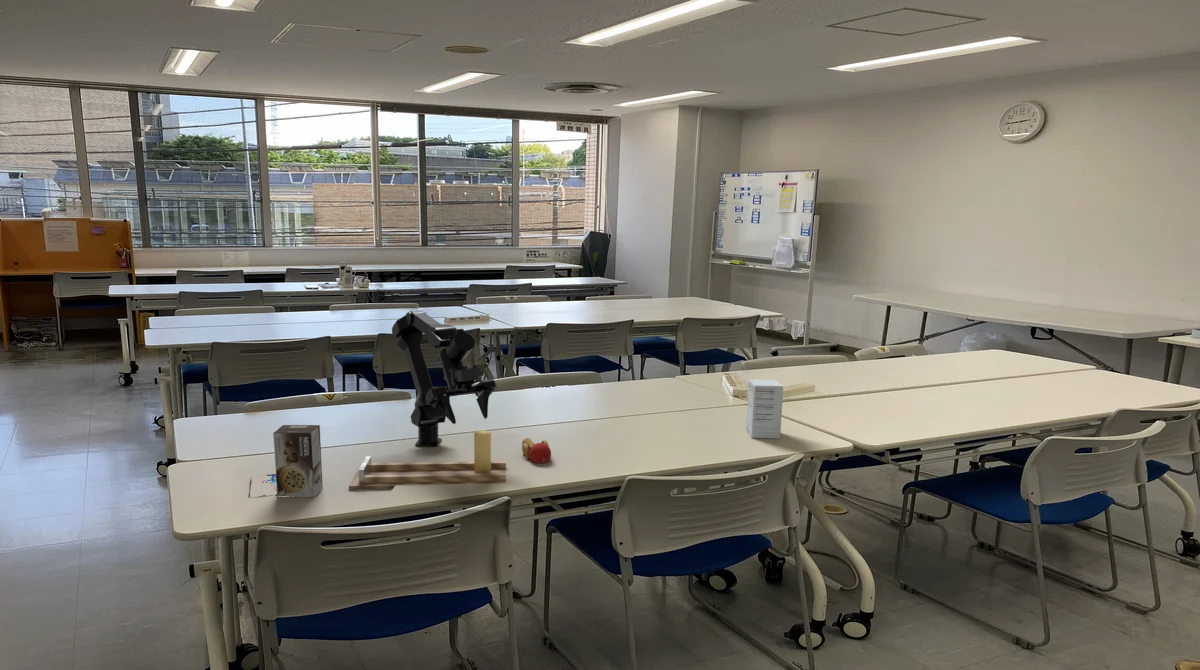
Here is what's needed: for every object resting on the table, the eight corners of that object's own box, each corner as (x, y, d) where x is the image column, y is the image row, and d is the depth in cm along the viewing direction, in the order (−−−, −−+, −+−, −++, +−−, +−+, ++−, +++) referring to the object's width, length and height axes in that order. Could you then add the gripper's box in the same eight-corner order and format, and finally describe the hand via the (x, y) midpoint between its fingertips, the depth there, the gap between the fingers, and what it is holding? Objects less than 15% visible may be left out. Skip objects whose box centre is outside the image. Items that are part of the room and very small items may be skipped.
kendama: (511, 453, 218) (527, 465, 201) (514, 432, 218) (530, 442, 201) (537, 456, 221) (554, 468, 204) (540, 434, 221) (558, 444, 204)
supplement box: (780, 439, 234) (784, 386, 231) (751, 438, 234) (754, 385, 231) (773, 430, 243) (776, 379, 240) (745, 429, 243) (748, 378, 240)
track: (505, 467, 202) (505, 458, 202) (505, 486, 188) (505, 477, 188) (360, 470, 198) (359, 461, 197) (348, 489, 184) (348, 480, 184)
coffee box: (323, 487, 185) (321, 424, 182) (314, 498, 179) (312, 432, 176) (286, 487, 185) (283, 423, 182) (275, 497, 178) (272, 431, 175)
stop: (371, 468, 196) (371, 455, 195) (364, 483, 186) (363, 469, 185) (366, 468, 196) (366, 455, 195) (359, 483, 186) (358, 469, 185)
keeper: (475, 470, 196) (475, 430, 195) (491, 471, 197) (491, 430, 195) (473, 476, 192) (473, 434, 190) (489, 476, 192) (489, 435, 191)
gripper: (431, 358, 192) (448, 413, 187) (496, 351, 203) (513, 403, 198) (417, 377, 200) (433, 431, 195) (480, 369, 211) (497, 420, 206)
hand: (470, 420), depth 198 cm, fingers open, 9 cm apart
